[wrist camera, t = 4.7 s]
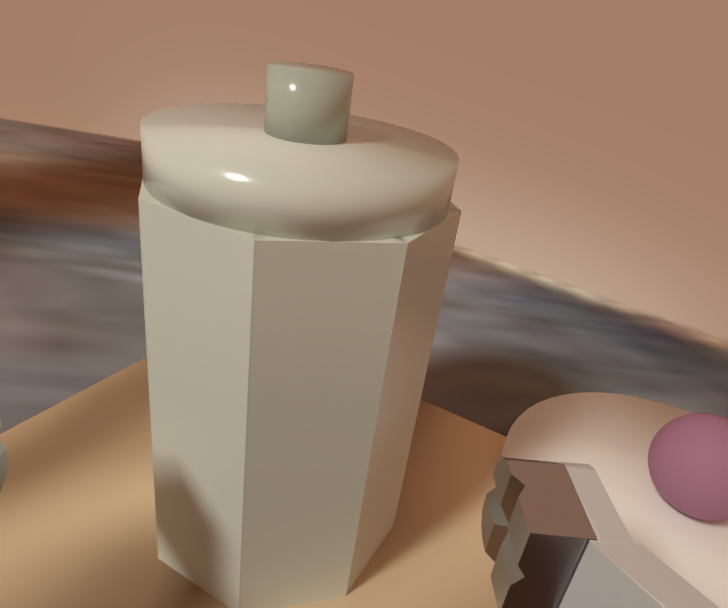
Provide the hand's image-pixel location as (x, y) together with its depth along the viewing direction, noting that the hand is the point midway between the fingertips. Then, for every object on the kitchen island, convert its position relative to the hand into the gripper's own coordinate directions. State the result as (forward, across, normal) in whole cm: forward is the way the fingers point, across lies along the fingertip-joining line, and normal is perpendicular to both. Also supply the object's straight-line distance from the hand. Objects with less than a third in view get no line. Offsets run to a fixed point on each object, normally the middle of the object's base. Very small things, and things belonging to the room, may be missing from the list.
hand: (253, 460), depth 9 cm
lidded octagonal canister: (+4, 0, +6) cm, 7 cm away
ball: (+5, -12, +5) cm, 14 cm away
